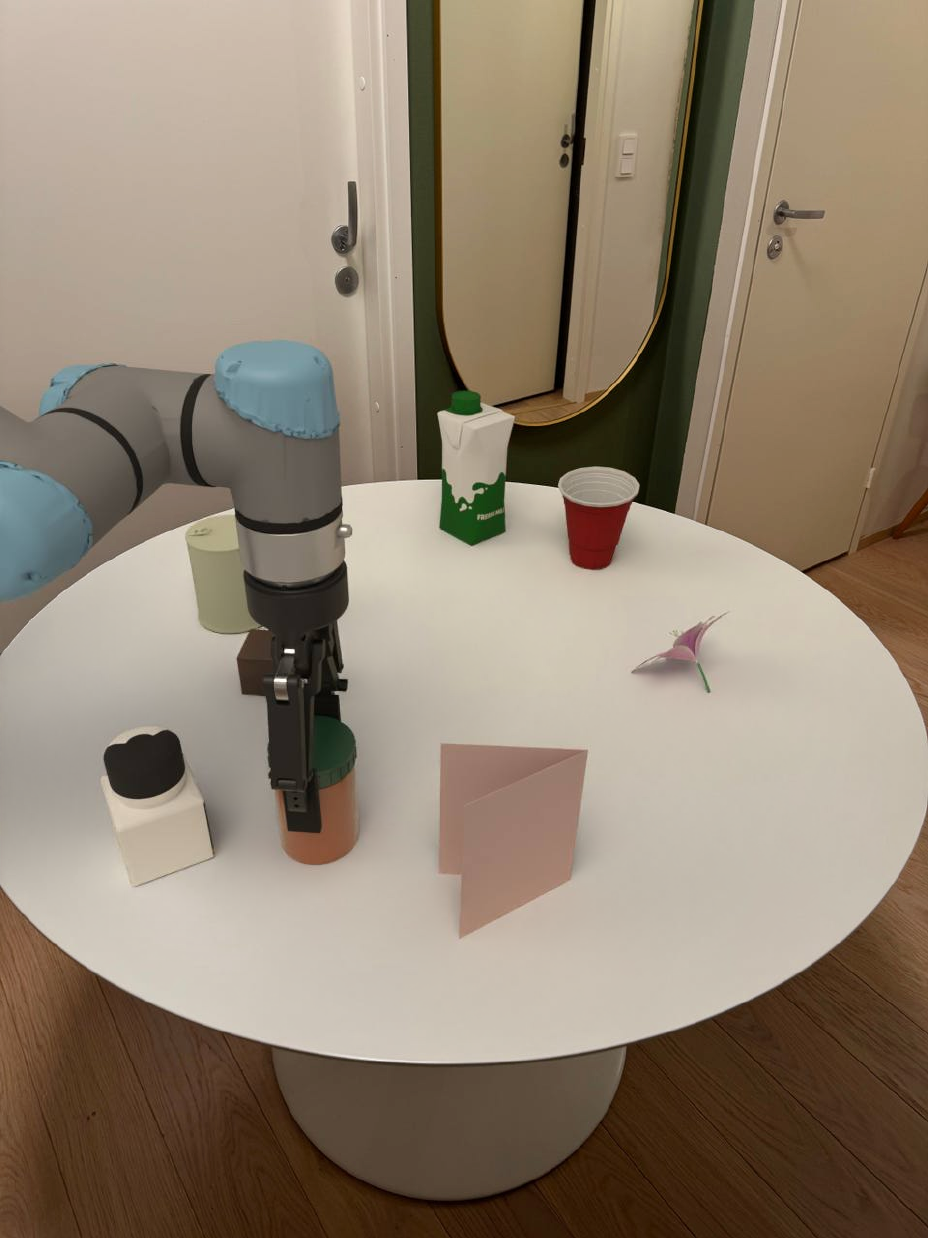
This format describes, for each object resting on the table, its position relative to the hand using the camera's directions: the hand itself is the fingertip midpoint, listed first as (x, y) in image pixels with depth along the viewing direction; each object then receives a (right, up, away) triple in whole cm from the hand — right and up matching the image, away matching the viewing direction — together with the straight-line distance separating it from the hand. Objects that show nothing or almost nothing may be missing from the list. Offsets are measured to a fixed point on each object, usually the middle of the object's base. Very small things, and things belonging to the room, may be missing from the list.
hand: (317, 788), depth 76 cm
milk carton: (+14, +28, +54) cm, 62 cm away
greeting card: (+16, -9, -2) cm, 19 cm away
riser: (-9, +8, +22) cm, 25 cm away
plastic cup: (+30, +23, +47) cm, 61 cm away
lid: (0, +4, -3) cm, 5 cm away
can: (-16, +15, +33) cm, 40 cm away
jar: (0, -5, +3) cm, 6 cm away
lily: (+38, +8, +25) cm, 46 cm away
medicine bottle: (-14, -6, +2) cm, 15 cm away
